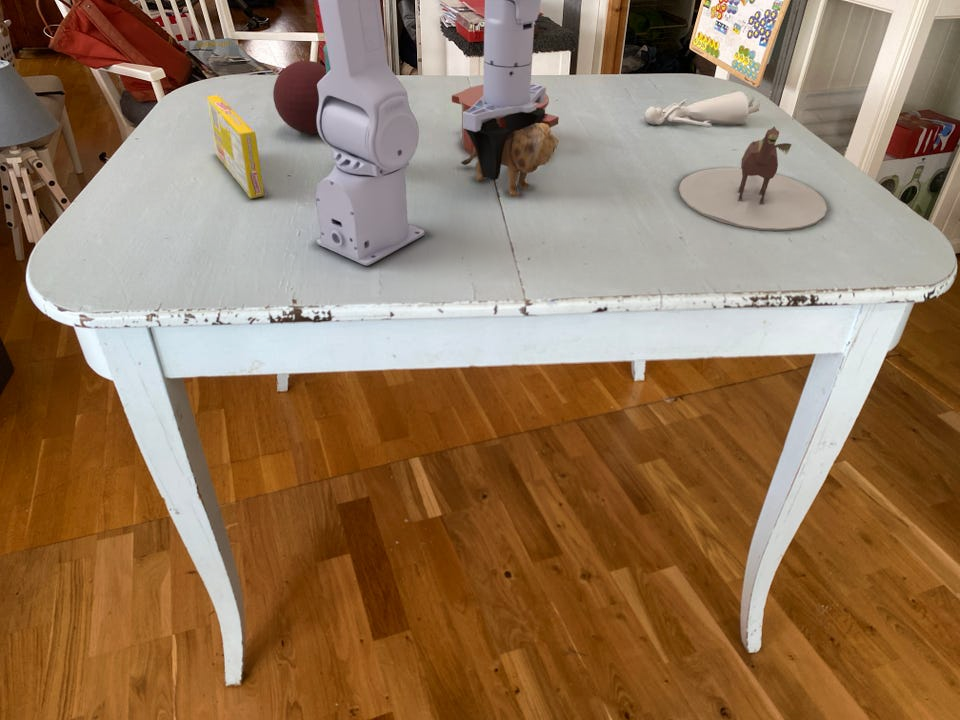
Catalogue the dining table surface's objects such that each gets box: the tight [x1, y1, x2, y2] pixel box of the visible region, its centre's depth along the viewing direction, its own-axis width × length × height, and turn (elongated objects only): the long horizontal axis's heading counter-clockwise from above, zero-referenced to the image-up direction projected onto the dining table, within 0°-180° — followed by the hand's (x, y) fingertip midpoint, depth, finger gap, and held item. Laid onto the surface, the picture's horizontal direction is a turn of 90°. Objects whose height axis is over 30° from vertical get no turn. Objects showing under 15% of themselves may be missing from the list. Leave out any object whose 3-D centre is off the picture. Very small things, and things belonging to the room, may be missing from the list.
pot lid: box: [459, 84, 550, 109], centre depth 98 cm, size 13×13×5 cm
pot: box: [451, 91, 560, 158], centre depth 101 cm, size 12×17×6 cm
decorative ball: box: [272, 60, 326, 135], centre depth 103 cm, size 10×10×10 cm
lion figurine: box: [460, 123, 560, 197], centre depth 90 cm, size 15×5×9 cm, turn 49°
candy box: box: [206, 94, 265, 200], centre depth 90 cm, size 16×2×8 cm, turn 31°
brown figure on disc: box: [678, 126, 828, 232], centre depth 87 cm, size 18×18×11 cm
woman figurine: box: [644, 90, 762, 128], centre depth 111 cm, size 12×4×18 cm
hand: (503, 170), depth 92 cm, fingers open, 5 cm apart
